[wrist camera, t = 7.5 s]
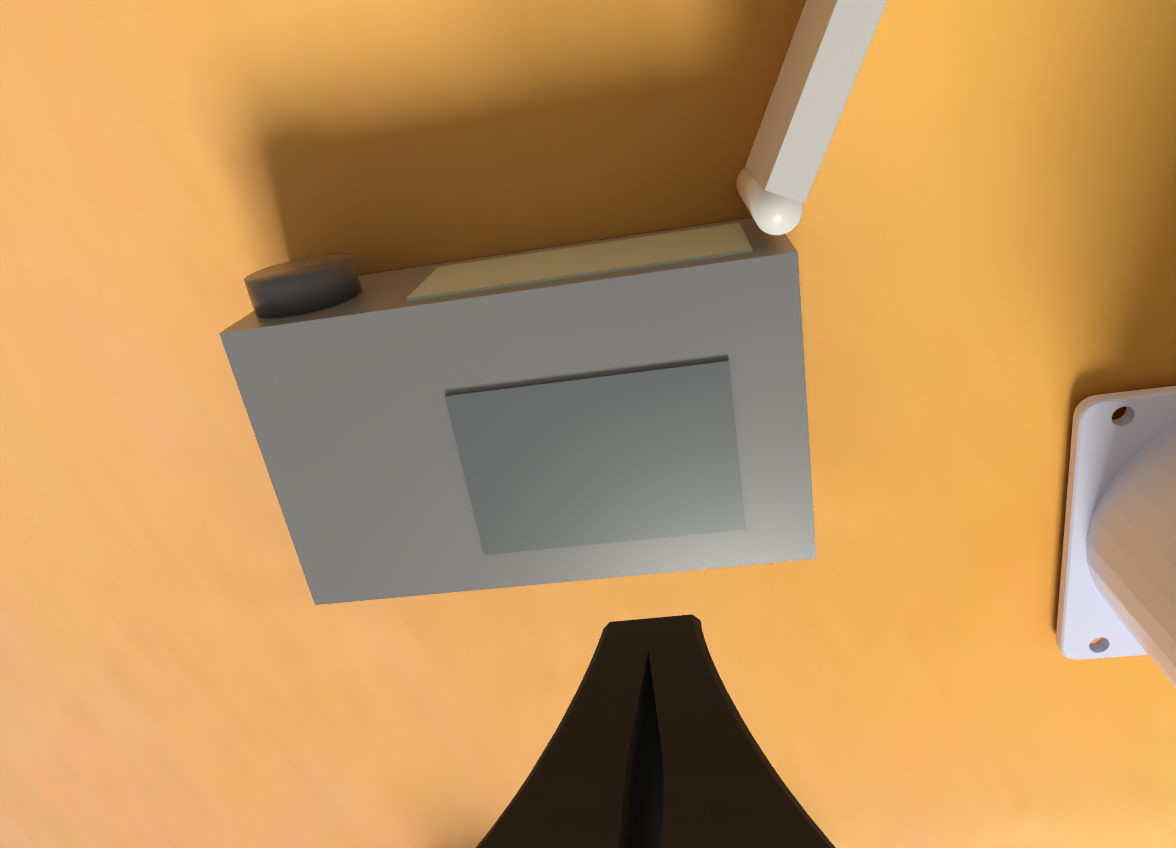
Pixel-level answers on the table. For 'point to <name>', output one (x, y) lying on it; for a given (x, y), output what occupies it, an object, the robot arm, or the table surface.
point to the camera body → (534, 412)
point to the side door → (805, 108)
